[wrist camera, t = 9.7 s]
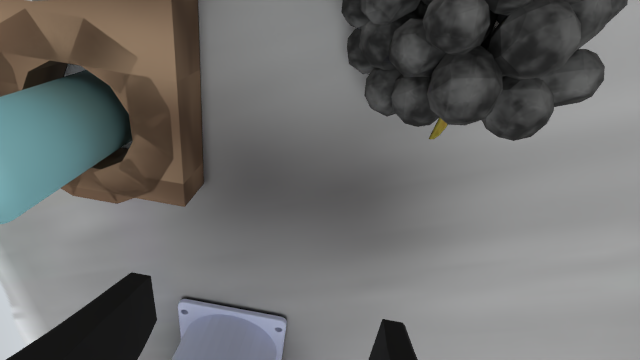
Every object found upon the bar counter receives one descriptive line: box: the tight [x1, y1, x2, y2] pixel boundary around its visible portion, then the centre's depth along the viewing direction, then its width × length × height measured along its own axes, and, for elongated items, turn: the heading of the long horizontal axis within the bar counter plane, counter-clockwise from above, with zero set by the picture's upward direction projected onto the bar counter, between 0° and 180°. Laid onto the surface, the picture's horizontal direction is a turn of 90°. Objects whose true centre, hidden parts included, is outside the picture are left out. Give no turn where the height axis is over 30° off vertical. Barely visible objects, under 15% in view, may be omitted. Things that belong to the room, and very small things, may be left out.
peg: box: [0, 70, 132, 224], centre depth 15 cm, size 4×4×8 cm
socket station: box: [0, 0, 204, 207], centre depth 13 cm, size 16×10×9 cm, turn 172°
